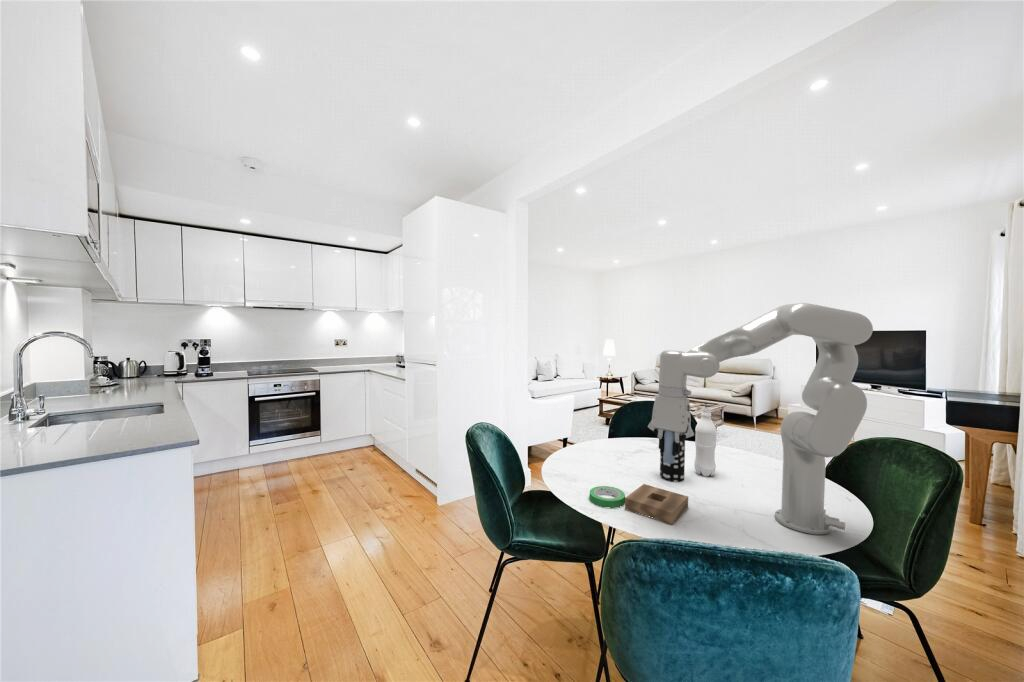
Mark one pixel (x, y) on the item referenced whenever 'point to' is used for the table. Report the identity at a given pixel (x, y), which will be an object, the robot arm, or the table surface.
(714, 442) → the water bottle
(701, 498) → the table surface
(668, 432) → the peg
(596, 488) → the tape roll
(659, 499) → the block
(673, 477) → the white-spotted black cylinder
